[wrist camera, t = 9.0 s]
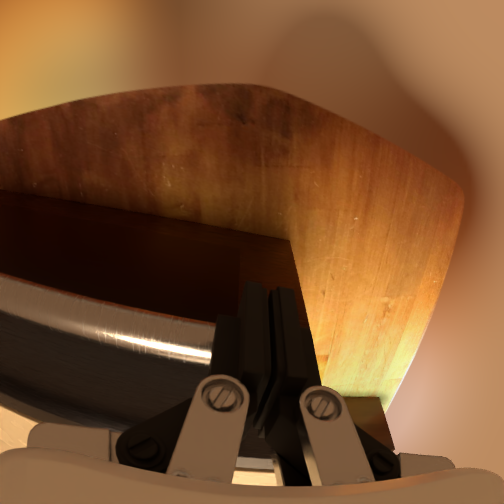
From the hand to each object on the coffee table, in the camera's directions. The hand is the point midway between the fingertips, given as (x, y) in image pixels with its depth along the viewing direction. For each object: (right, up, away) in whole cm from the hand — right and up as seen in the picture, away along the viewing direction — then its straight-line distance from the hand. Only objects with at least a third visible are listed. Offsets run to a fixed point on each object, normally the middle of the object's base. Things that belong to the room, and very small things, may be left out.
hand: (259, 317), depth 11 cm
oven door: (-15, +9, +22) cm, 28 cm away
